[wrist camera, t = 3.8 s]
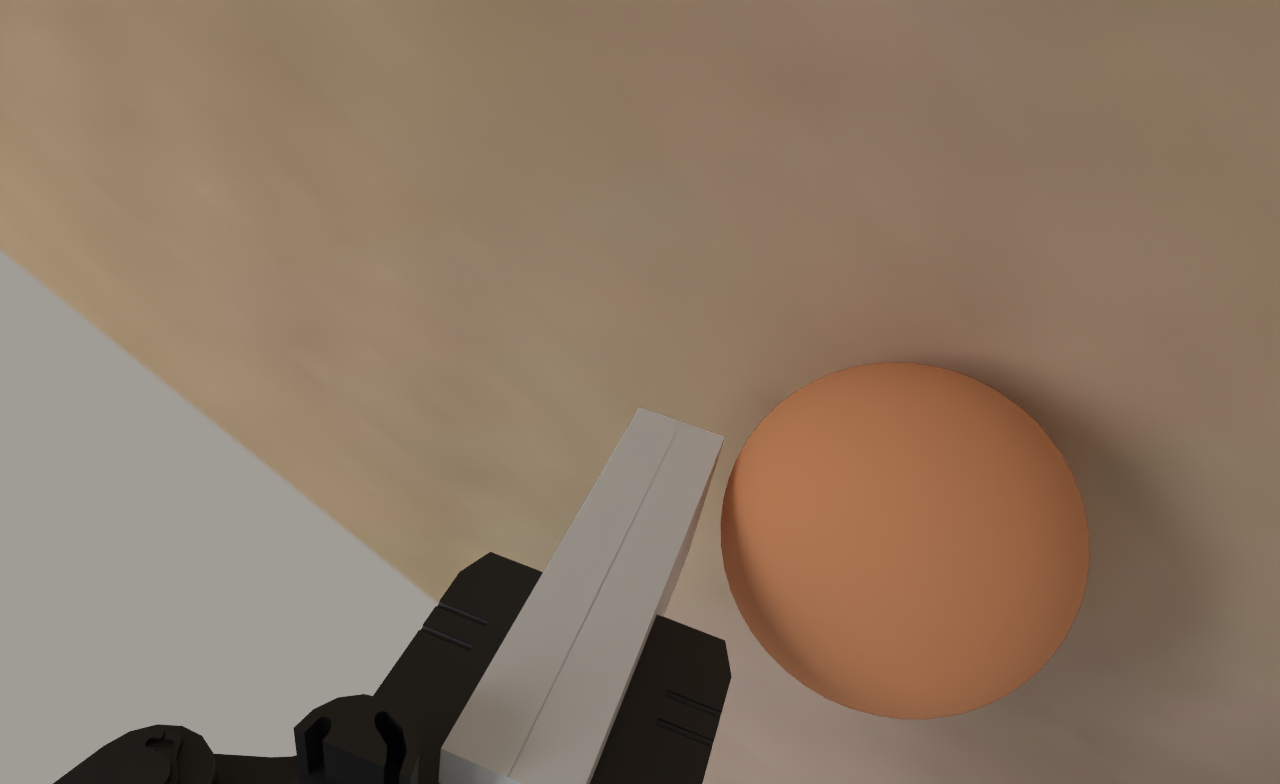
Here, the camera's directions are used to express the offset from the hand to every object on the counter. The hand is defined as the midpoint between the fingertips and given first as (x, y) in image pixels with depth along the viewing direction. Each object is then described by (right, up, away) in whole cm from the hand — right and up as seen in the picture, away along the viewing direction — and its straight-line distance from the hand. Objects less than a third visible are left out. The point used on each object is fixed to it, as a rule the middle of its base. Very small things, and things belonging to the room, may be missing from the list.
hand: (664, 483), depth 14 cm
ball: (+4, -1, -1) cm, 4 cm away
